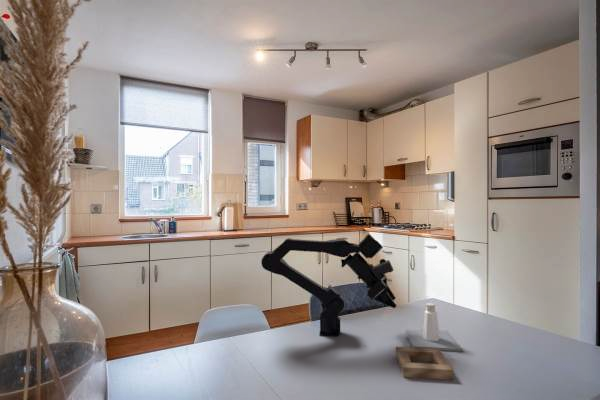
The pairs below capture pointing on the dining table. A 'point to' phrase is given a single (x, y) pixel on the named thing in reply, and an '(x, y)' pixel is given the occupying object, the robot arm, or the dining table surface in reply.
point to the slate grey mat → (443, 344)
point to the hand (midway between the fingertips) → (395, 303)
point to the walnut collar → (419, 370)
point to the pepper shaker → (430, 324)
